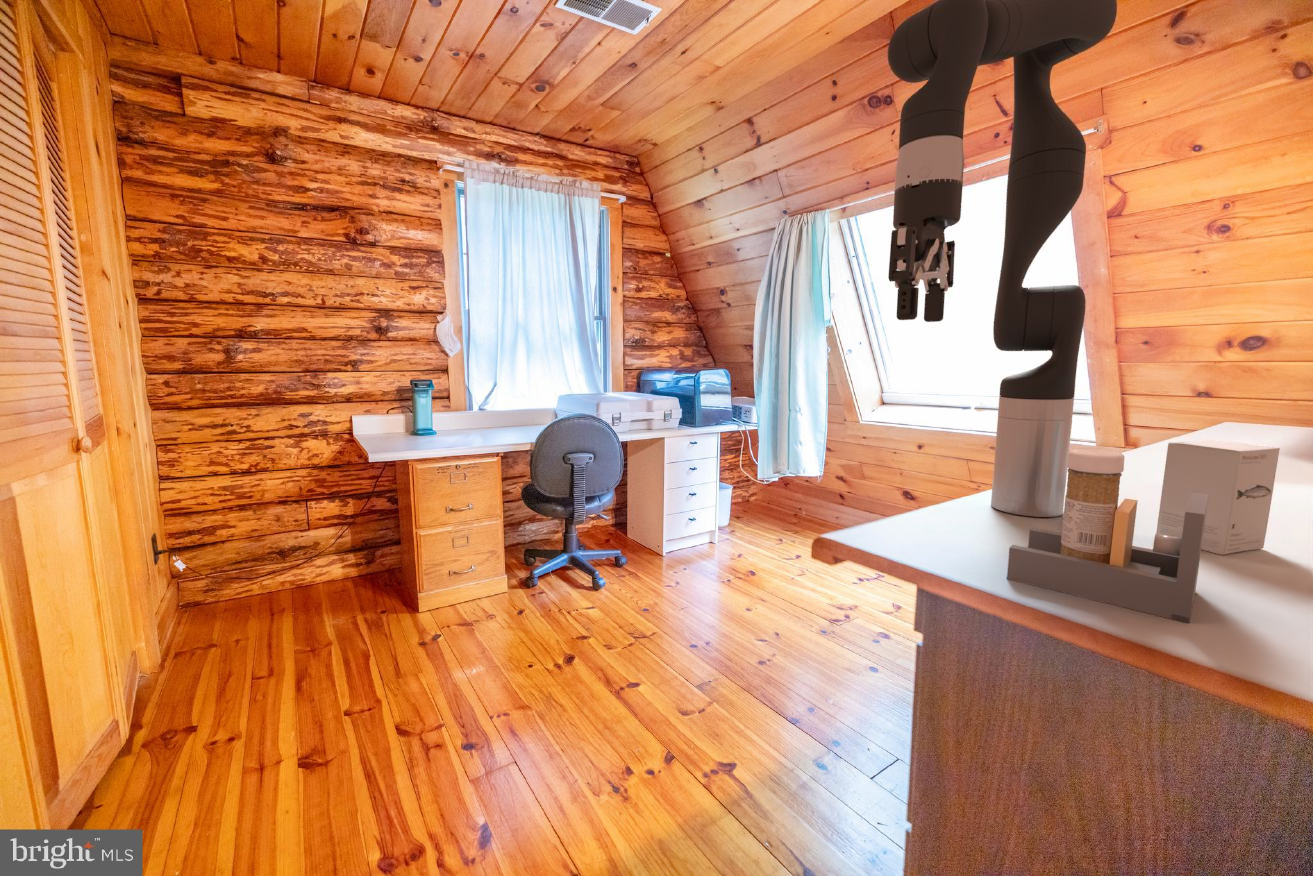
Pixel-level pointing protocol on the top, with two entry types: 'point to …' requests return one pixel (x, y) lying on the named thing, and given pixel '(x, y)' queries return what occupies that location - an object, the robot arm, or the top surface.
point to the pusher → (1126, 538)
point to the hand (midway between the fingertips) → (920, 320)
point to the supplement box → (1220, 492)
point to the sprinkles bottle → (1091, 503)
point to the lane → (1121, 569)
